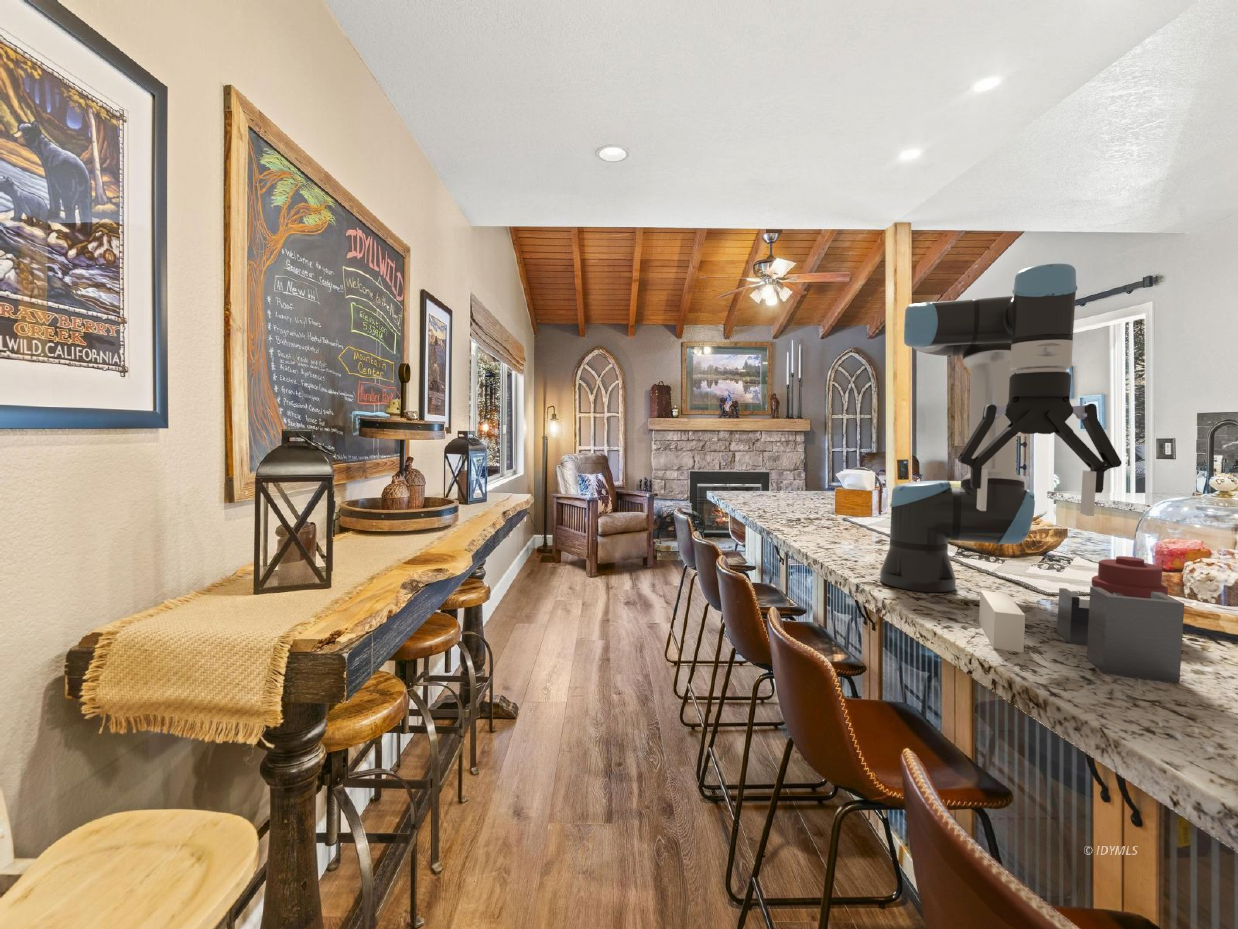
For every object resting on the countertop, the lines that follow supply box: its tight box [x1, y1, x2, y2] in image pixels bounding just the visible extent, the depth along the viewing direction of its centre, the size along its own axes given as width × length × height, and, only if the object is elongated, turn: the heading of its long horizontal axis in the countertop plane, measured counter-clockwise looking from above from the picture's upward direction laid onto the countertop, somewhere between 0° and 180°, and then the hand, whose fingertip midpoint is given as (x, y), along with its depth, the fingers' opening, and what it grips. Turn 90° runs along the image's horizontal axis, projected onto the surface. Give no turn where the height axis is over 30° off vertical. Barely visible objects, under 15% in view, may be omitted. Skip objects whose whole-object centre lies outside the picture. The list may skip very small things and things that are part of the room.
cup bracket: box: [1086, 585, 1185, 684], centre depth 82 cm, size 6×8×11 cm
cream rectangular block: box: [978, 589, 1026, 653], centre depth 96 cm, size 14×4×6 cm, turn 156°
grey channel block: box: [1056, 587, 1124, 646], centre depth 95 cm, size 6×8×8 cm
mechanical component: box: [1091, 555, 1169, 599], centre depth 101 cm, size 12×10×10 cm
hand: (1032, 512), depth 88 cm, fingers open, 13 cm apart
